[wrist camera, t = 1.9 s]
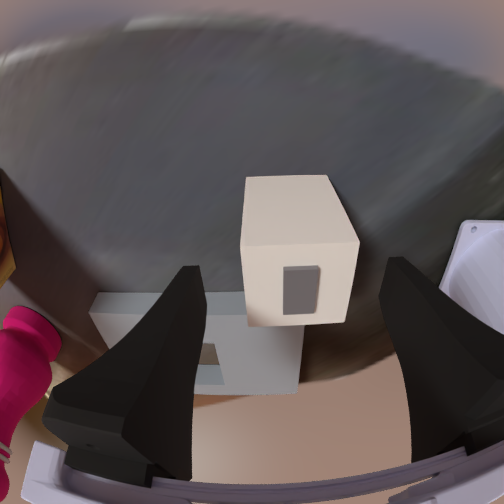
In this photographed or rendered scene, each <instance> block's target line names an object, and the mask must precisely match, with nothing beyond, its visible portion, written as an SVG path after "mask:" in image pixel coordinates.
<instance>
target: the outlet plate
mask: <svg viewBox="0 0 504 504" xmlns="http://www.w3.org/2000/svg"><path fill="white" fill-rule="evenodd" d="M161 294H162V293H115V292H98V294H97V296H96V298H95V300H94V302H93V304H92V306H91V308H90V310H89V312H88V313H89V315H90V317H91V318H92V320H93V322H94V324H95V325H96V327H97V329H98V331H99V332H100V334H101V336H102V338H103V339H104V341H105V343H106V344H107V346H108V348H109V349H111V348H112V347H113V346H114V345H115V344H117V343H118V342H119V341H120V340H121V339H122V338H123V337H124V336H125V335H126V334H127V333H128V332H129V331H130V330H131V329H132V328H133V327H134V326H135V325H136V324H137V323H138V322H139V321H140V320H141V319H142V317H143V316H144V315H145V314H146V313H147V312H148V310H149V309H150V308H151V307H152V306H153V305H154V303H155V302H156V301H157V300H158V298H159V297H160V296H161ZM205 296H206V301H207V317H206V328H205V334H204V339H203V343H214V344H215V348H216V352H217V356H218V360H219V364H220V365H202V364H198V369H197V374H196V380H195V387H194V394H208V395H270V394H271V395H272V394H294V393H297V388H298V381H299V373H300V364H301V355H302V346H303V337H304V327H305V325H291V326H265V327H248V320H247V310H246V300H245V291H240V292H205Z"/></svg>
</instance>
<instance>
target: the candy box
mask: <svg viewBox="0 0 504 504" xmlns="http://www.w3.org/2000/svg"><path fill="white" fill-rule="evenodd" d="M15 269H16V266H15V262H14V257H13V253H12V249H11V245H10V241H9V236H8V231H7V226H6V220H5V215H4V209H3V203H2V195H1V188H0V288H1V287H2V286H3V284H4V283H5V282H6V280H7V279H8V278H9V276H10V275H11V274H12V273H13V271H14V270H15Z"/></svg>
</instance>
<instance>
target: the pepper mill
mask: <svg viewBox="0 0 504 504" xmlns="http://www.w3.org/2000/svg"><path fill="white" fill-rule="evenodd" d="M3 328H4V329H2V330H0V502H1V501H3V499H4V498H5V497H6V495H7V494H8V490H9V479H8V475H7V473H6V471H5V467H4V463H7V464H8V463H10V461H9V459H8V458H10V455H11V454H12V451H11V449H9V446H10V442H11V438H12V435H13V432H14V430H15V428H16V426H17V424H18V422H19V421H20V419H21V418H22V416H23V415H24V414H25V413H26V412H27V411H28V410H29V409H30V408H32V407H33V406H34V405H35V404H36V403H37V402H38V401H40V399H41V398H42V397H43V396H44V394H45V393H46V391H47V389H48V388H49V386H50V384H51V381H52V371H51V367H50V364H49V362H52V361H54V360H55V359H56V357H57V355H58V352H59V350H60V348H61V345H62V342H61V338H60V336H59V334H58V332H57V331H56V330H55V328H54V327H53V326H52V325H51V324H50V323H49V322H48V321H47V320H46V319H45V318H44V317H42V316H41V315H40V314H38V313H37V312H35V311H33V310H31V309H29V308H27V307H24V306H15V307H13V308H11V310H10V311H9V313H8V314H7V316H6V318H5V319H4V321H3Z"/></svg>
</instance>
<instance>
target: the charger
mask: <svg viewBox="0 0 504 504" xmlns="http://www.w3.org/2000/svg"><path fill="white" fill-rule="evenodd" d="M359 244H360V242H359V239H358V237H357V235H356V233H355V231H354V229H353V227H352V224H351V222H350V220H349V218H348V216H347V214H346V212H345V210H344V208H343V206H342V204H341V202H340V200H339V198H338V196H337V194H336V192H335V190H334V188H333V186H332V184H331V182H330V180H329V179H328V177H327V175H293V176H262V177H246V185H245V197H244V208H243V219H242V231H241V243H240V250H241V260H242V270H243V280H244V290H245V300H246V310H247V320H248V327H265V326H291V325H310V324H326V323H340V322H344V321H345V317H346V312H347V308H348V303H349V298H350V294H351V289H352V284H353V278H354V273H355V268H356V262H357V256H358V250H359Z"/></svg>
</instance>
